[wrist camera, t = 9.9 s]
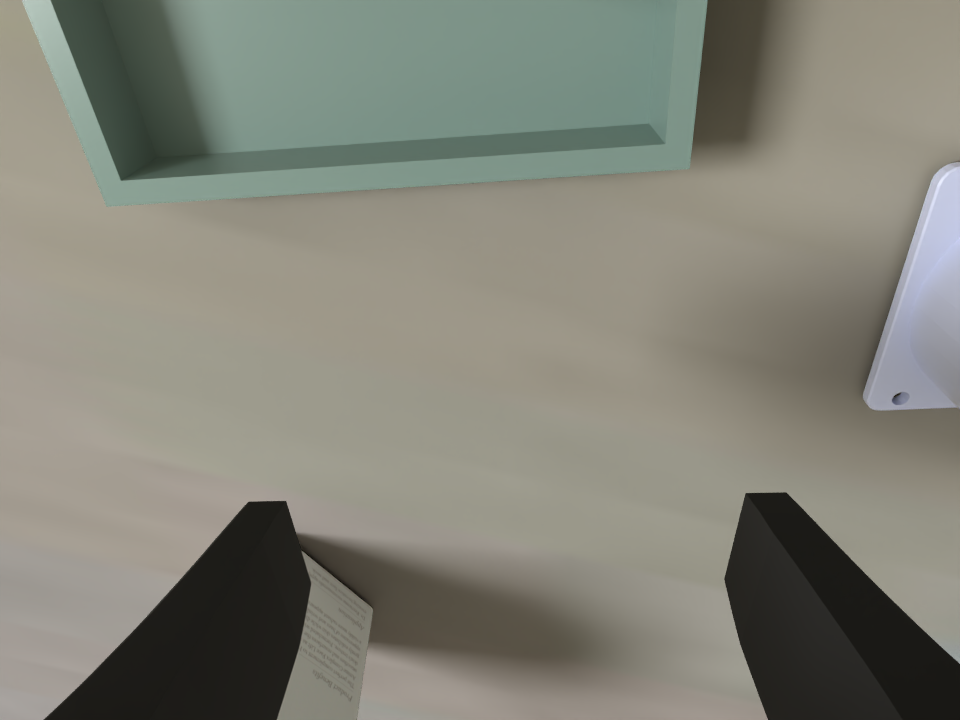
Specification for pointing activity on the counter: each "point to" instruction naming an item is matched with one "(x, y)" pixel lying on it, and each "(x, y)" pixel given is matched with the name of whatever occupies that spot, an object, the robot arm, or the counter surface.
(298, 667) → the skincare box
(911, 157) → the counter surface
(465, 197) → the counter surface
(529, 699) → the counter surface
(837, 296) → the counter surface
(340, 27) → the tray
